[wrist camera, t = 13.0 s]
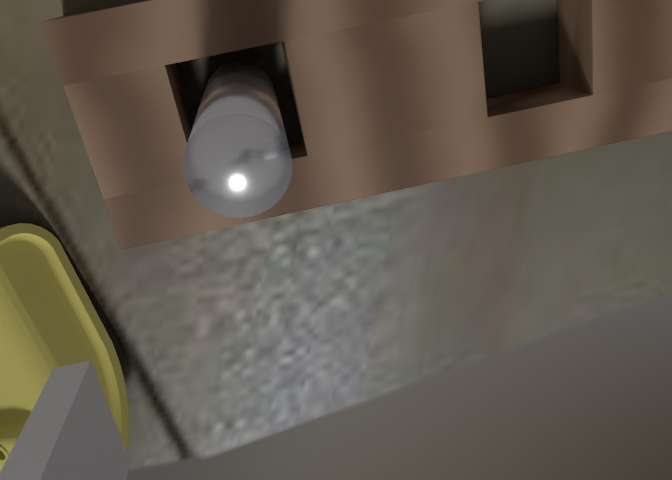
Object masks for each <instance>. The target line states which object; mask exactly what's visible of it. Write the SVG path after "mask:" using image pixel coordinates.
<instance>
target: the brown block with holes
mask: <svg viewBox="0 0 672 480" xmlns="http://www.w3.org/2000/svg"><path fill="white" fill-rule="evenodd" d="M479 1H484V0H143V1H138V2H133V3H128V4H123V5H118V6H113V7H108V8H103V9H98V10H93V11H88V12H83V13H78V14H72V15H67V16H62V17H59V18H55V19H51V20H47V21H43V22H41V24H42V27H43V30H44V32H45V35H46V38H47V41H48V44H49V47H50V49H51V52H52V55H53V58H54V61H55V64H56V66H57V69H58V72H59V75H60V78H61V81H62V83H63V86H64V89H65V92H66V95H67V97H68V100H69V103H70V106H71V109H72V112H73V114H74V117H75V120H76V123H77V126H78V129H79V131H80V134H81V137H82V140H83V143H84V146H85V148H86V151H87V154H88V157H89V160H90V163H91V165H92V168H93V171H94V174H95V177H96V179H97V182H98V185H99V188H100V191H101V194H102V196H103V199H104V202H105V205H106V208H107V211H108V213H109V216H110V219H111V222H112V225H113V228H114V230H115V233H116V236H117V239H118V242H119V244H120V247H121V250H123V249H127V248H132V247H137V246H141V245H146V244H150V243H155V242H160V241H164V240H169V239H173V238H178V237H183V236H187V235H192V234H197V233H201V232H206V231H210V230H215V229H220V228H224V227H229V226H233V225H238V224H243V223H247V222H252V221H257V220H261V219H266V218H270V217H275V216H280V215H284V214H289V213H293V212H298V211H303V210H307V209H312V208H316V207H321V206H326V205H330V204H335V203H340V202H344V201H349V200H353V199H358V198H363V197H367V196H372V195H376V194H381V193H386V192H390V191H395V190H400V189H404V188H409V187H413V186H418V185H423V184H427V183H432V182H436V181H441V180H446V179H450V178H455V177H459V176H464V175H469V174H473V173H478V172H483V171H487V170H492V169H496V168H501V167H506V166H510V165H515V164H519V163H524V162H529V161H533V160H538V159H543V158H547V157H552V156H556V155H561V154H566V153H570V152H575V151H579V150H584V149H589V148H593V147H598V146H602V145H607V144H612V143H616V142H621V141H626V140H630V139H635V138H639V137H644V136H649V135H653V134H658V133H662V132H667V131H672V0H557V7H558V39H559V71H560V83H558V84H553V85H549V86H544V87H539V88H534V89H530V90H525V91H520V92H516V93H511V94H506V95H501V96H497V97H492V98H487V99H486V92H485V79H484V67H483V54H482V42H481V30H480V17H479V5H478V2H479ZM277 42H282V46H283V51H284V55H285V60H286V65H287V70H288V75H289V80H290V85H291V89H292V94H293V99H294V104H295V109H296V114H297V119H298V123H299V128H300V133H301V138H297V139H293V140H288V145H289V149H290V153H291V158H292V176H291V180H290V183H289V186H288V188H287V190H286V192H285V193H284V195H283V196H282V198H281V199H280V200H279V201H278V202H277V203H276V204H275V205H274V206H272V207H271V208H270V209H268V210H266V211H265V212H263V213H260V214H258V215H254V216H251V217H244V218H234V217H227V216H223V215H220V214H217V213H215V212H213V211H211V210H209V209H208V208H206V207H205V206H203V205H202V204H201V203H200V202H199V201H198V200H197V199H196V198H195V197H194V195H193V194H192V193H191V191H190V189H189V187H188V185H187V183H186V180H185V176H184V172H183V157H184V152H185V149H186V146H187V143H188V140H189V137H190V134H191V131H192V128H193V126H192V122H191V118H190V115H189V111H188V107H187V104H186V100H185V97H184V93H183V89H182V86H181V82H180V79H179V75H178V71H177V68H176V64H175V63H179V62H183V61H188V60H193V59H198V58H203V57H208V56H213V55H218V54H223V53H228V52H233V51H238V50H243V49H248V48H252V47H257V46H262V45H267V44H272V43H277Z"/></svg>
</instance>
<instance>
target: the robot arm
mask: <svg viewBox="0 0 672 480" xmlns="http://www.w3.org/2000/svg"><path fill="white" fill-rule="evenodd" d="M130 463H131V461H130V459H129V456H128V454H127V451H126V449H125V446H124V444H123V441H122V439H121V436H120V434H119V431H118V429H117V426H116V424H115V421H114V418H113V416H112V413H111V411H110V408H109V406H108V403H107V401H106V398H105V396H104V393H103V391H102V388H101V386H100V383H99V381H98V378H97V376H96V373H95V370H94V368H93V365H92V363H91V361H87V362H82V363H77V364H72V365H67V366H62V367H58V368H53V370H52V372H51V374H50V376H49V378H48V380H47V382H46V384H45V386H44V388H43V390H42V392H41V394H40V396H39V398H38V400H37V402H36V404H35V406H34V408H33V409H32V411H31V413H30V415H29V417H28V419H27V421H26V423H25V425H24V427H23V429H22V431H21V433H20V435H19V437H18V439H17V441H16V443H15V445H14V447H13V449H12V451H11V452H10V454H9V456H8V458H7V460H6V462H5V464H4V466H3V468H2V470H1V472H0V480H126V478H127V475H128V471H129V467H130Z"/></svg>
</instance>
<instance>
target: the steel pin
mask: <svg viewBox="0 0 672 480" xmlns="http://www.w3.org/2000/svg"><path fill="white" fill-rule="evenodd" d="M183 172H184V176H185V180H186V183H187V185H188V187H189V189H190V191H191V193H192V194H193V195H194V197H195V198H196V199H197V200H198V201H199V202H200V203H201V204H202V205H203V206H205V207H206V208H208V209H209V210H211V211H213V212H215V213H217V214H220V215H223V216H227V217H234V218H244V217H251V216H254V215H258V214H260V213H263V212H265V211H266V210H268V209H270V208H271V207H272V206H274V205H275V204H276V203H277V202H278V201H279V200H280V199H281V198H282V196H283V195H284V193H285V192H286V190H287V188H288V186H289V183H290V180H291V176H292V158H291V153H290V149H289V145H288V141H287V137H286V133H285V129H284V125H283V121H282V117H281V113H280V109H279V105H278V101H277V97H276V93H275V89H274V86H273V84H272V81H271V80H270V78H269V77H268V75H267V74H266V73H265V72H264V71H263V70H262V69H260V68H259V67H257V66H256V65H254V64H251V63H248V62H242V61H236V62H230V63H227V64H225V65H223V66H221V67H219V68H218V69H217V70H216V71H215V72H214V73H213V74H212V75H211V77H210V78H209V80H208V82H207V85H206V88H205V91H204V94H203V97H202V100H201V103H200V106H199V109H198V112H197V115H196V118H195V121H194V124H193V128H192V131H191V134H190V137H189V140H188V143H187V146H186V149H185V152H184V157H183Z"/></svg>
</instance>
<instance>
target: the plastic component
mask: <svg viewBox="0 0 672 480" xmlns="http://www.w3.org/2000/svg"><path fill="white" fill-rule="evenodd" d="M87 361H91V363H92V365H93V368H94V370H95V373H96V376H97V378H98V381H99V383H100V386H101V388H102V391H103V393H104V396H105V398H106V401H107V403H108V406H109V408H110V411H111V413H112V416H113V418H114V421H115V424H116V426H117V429H118V431H119V434H120V436H121V439H122V441H123V444H124V446H125V449H126V451H127V454H128V443H129V411H128V397H127V392H126V387H125V381H124V376H123V373H122V369H121V366H120V362H119V359H118V356H117V354H116V351H115V348H114V345H113V343H112V341H111V339H110V337H109V335H108V333H107V331H106V329H105V327H104V326H103V324H102V322H101V320H100V318H99V316H98V314H97V312H96V310H95V308H94V306H93V305H92V303H91V301H90V299H89V297H88V295H87V293H86V291H85V289H84V287H83V285H82V284H81V282H80V280H79V278H78V276H77V274H76V272H75V270H74V268H73V266H72V264H71V263H70V261H69V259H68V257H67V255H66V253H65V251H64V249H63V247H62V245H61V244H60V242H59V240H58V239H57V238H56V237H55V236H54V235H53V234H52V233H51V232H49V231H47V230H46V229H44V228H42V227H40V226H37V225H33V224H27V223H18V224H13V225H9V226H4V227H1V228H0V472H1V470H2V468H3V466H4V464H5V462H6V460H7V458H8V456H9V454H10V452H11V451H12V449H13V447H14V445H15V443H16V441H17V439H18V437H19V435H20V433H21V431H22V429H23V427H24V425H25V423H26V421H27V419H28V417H29V415H30V413H31V411H32V409H33V408H34V406H35V404H36V402H37V400H38V398H39V396H40V394H41V392H42V390H43V388H44V386H45V384H46V382H47V380H48V378H49V376H50V374H51V372H52V370H53V368H58V367H62V366H67V365H72V364H77V363H82V362H87Z"/></svg>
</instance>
